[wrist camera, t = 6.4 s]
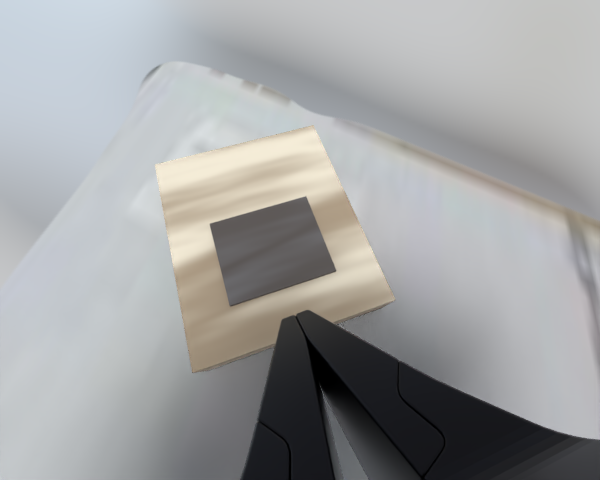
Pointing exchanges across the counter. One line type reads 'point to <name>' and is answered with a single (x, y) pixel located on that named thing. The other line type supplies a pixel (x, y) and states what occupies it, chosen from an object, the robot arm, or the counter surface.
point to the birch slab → (263, 244)
